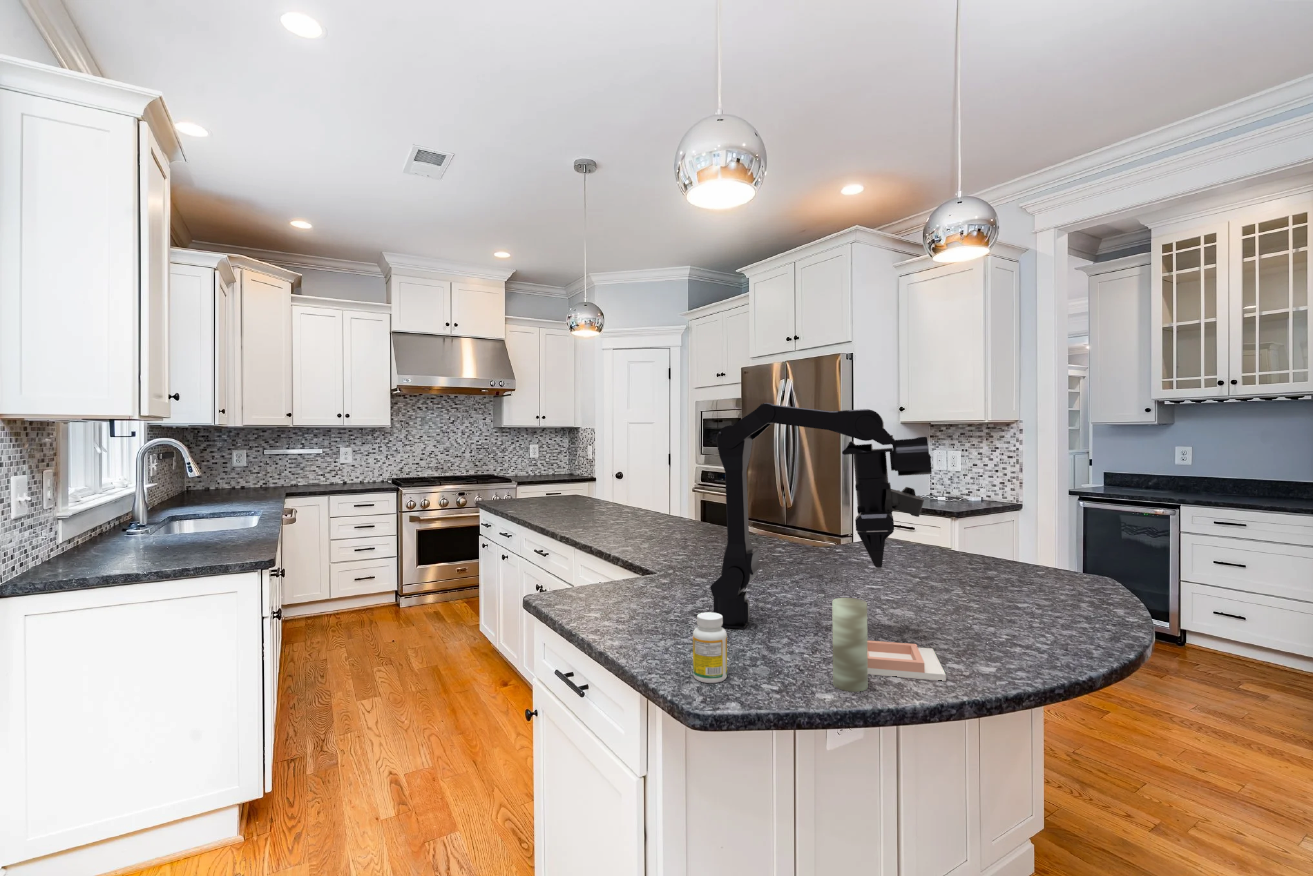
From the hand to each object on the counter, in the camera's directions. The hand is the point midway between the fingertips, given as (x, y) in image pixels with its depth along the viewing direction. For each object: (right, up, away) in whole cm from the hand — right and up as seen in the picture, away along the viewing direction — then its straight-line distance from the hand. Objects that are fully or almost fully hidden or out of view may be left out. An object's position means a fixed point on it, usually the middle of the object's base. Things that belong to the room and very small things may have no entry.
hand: (878, 561), depth 114 cm
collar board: (-1, -14, -13) cm, 19 cm away
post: (-12, -14, -21) cm, 28 cm away
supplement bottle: (-33, -15, -17) cm, 40 cm away
